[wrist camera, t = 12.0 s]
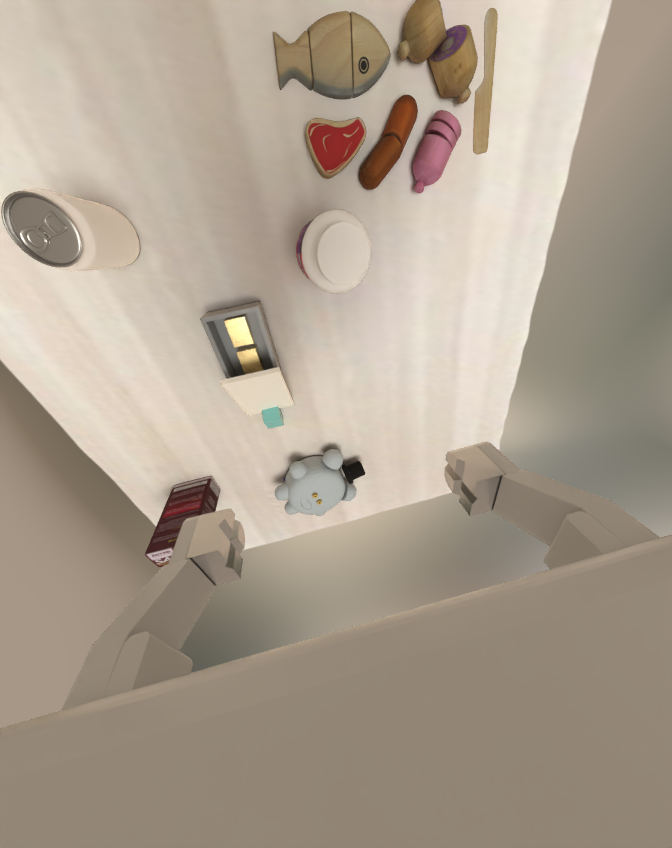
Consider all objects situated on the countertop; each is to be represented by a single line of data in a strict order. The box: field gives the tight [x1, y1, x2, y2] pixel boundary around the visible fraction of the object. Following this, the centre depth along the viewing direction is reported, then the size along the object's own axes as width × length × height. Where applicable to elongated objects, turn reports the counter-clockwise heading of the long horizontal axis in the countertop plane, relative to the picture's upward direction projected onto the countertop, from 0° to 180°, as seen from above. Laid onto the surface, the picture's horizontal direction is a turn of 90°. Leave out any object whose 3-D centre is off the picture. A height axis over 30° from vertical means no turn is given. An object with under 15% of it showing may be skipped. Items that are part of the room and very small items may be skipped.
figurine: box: [275, 449, 365, 516], centre depth 60 cm, size 17×8×20 cm
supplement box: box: [145, 476, 220, 567], centre depth 52 cm, size 9×5×16 cm, turn 100°
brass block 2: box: [236, 344, 264, 375], centre depth 44 cm, size 4×3×2 cm
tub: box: [200, 301, 281, 379], centre depth 42 cm, size 11×8×4 cm
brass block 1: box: [224, 314, 255, 348], centre depth 41 cm, size 4×3×2 cm
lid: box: [220, 367, 294, 428], centre depth 45 cm, size 14×9×4 cm
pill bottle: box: [296, 209, 371, 294], centre depth 33 cm, size 8×8×14 cm
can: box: [2, 188, 140, 271], centre depth 29 cm, size 6×6×12 cm
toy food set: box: [273, 0, 497, 193], centre depth 31 cm, size 26×16×4 cm, turn 103°
